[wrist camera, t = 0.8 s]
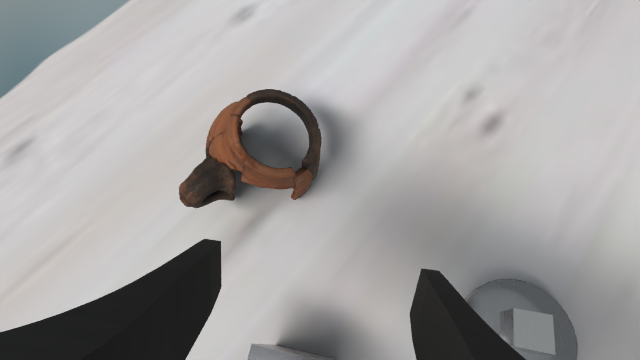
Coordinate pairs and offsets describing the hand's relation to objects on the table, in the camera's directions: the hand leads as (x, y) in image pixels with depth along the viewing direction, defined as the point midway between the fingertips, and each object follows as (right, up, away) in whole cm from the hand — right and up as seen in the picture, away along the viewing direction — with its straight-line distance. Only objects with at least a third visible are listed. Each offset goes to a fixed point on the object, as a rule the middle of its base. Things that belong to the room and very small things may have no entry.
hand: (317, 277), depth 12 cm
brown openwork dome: (-5, +4, +19) cm, 20 cm away
